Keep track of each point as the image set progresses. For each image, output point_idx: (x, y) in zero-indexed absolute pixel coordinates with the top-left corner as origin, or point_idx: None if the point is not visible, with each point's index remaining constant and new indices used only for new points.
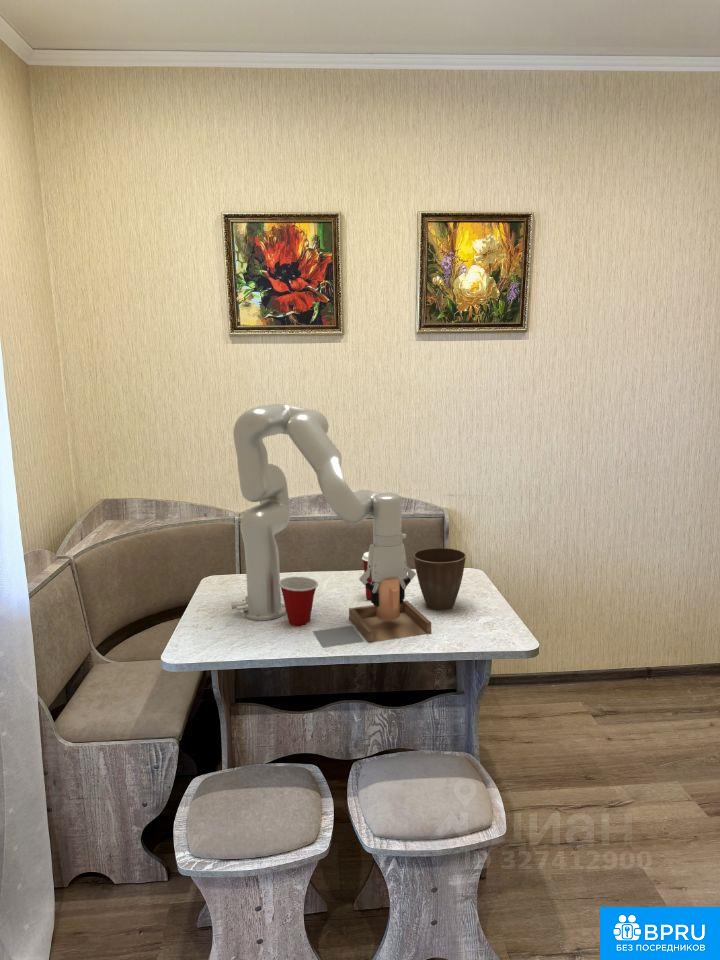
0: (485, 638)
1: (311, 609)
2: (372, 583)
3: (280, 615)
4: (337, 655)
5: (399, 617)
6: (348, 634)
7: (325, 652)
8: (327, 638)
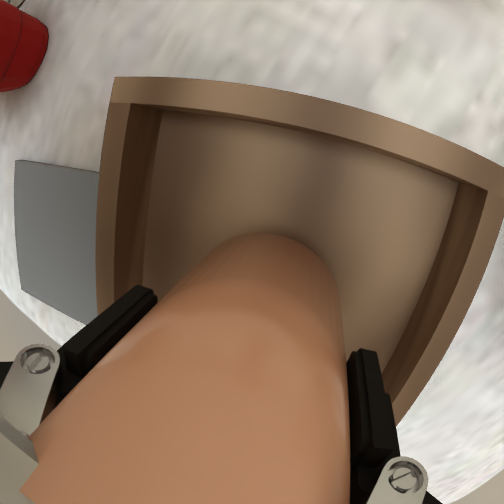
0: (445, 470)
1: (4, 63)
2: (15, 408)
3: (16, 4)
4: (51, 337)
5: (394, 225)
6: (85, 256)
7: (30, 303)
8: (32, 242)
